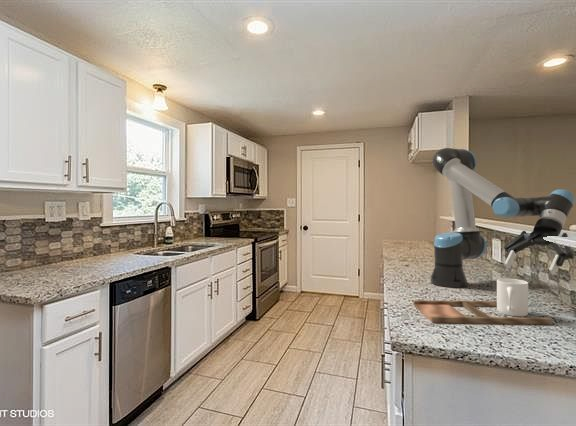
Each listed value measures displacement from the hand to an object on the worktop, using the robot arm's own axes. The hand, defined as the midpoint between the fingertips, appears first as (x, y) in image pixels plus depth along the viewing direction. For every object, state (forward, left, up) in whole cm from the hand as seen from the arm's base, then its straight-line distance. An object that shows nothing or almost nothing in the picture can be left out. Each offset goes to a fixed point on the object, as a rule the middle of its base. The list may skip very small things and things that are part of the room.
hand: (527, 269), depth 108 cm
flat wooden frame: (+15, -14, -14) cm, 25 cm away
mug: (+9, -4, -14) cm, 17 cm away
